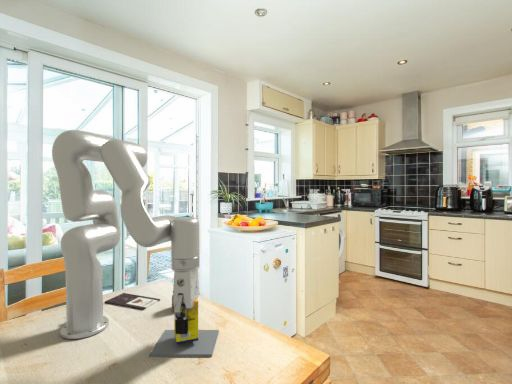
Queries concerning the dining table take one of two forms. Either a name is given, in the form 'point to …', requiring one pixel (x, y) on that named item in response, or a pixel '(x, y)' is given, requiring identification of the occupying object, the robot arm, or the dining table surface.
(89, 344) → the dining table surface
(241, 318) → the dining table surface
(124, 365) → the dining table surface
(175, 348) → the gray mat
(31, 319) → the dining table surface
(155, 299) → the chocolate bar
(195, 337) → the supplement box
